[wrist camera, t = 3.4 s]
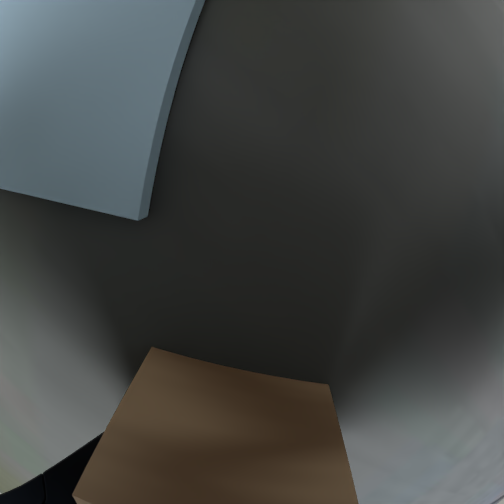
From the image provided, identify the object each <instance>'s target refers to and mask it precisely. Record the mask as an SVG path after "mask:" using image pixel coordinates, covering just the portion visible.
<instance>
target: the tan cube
mask: <svg viewBox="0 0 504 504" xmlns="http://www.w3.org/2000/svg"><path fill="white" fill-rule="evenodd" d="M72 496H73V498H74V499H75V501H76V503H77V504H358V500H357V495H356V491H355V487H354V482H353V478H352V474H351V470H350V466H349V461H348V457H347V453H346V449H345V445H344V441H343V437H342V433H341V429H340V426H339V422H338V418H337V414H336V410H335V406H334V403H333V399H332V395H331V392H330V388H329V384H321V383H314V382H307V381H300V380H294V379H288V378H282V377H276V376H271V375H265V374H260V373H255V372H250V371H245V370H241V369H236V368H231V367H227V366H222V365H218V364H214V363H210V362H206V361H202V360H198V359H194V358H190V357H186V356H182V355H179V354H175V353H171V352H168V351H164V350H161V349H158V348H154V347H151V349H150V351H149V352H148V354H147V356H146V358H145V359H144V361H143V363H142V365H141V366H140V368H139V370H138V372H137V373H136V375H135V377H134V379H133V381H132V382H131V384H130V386H129V388H128V389H127V391H126V393H125V395H124V397H123V398H122V400H121V402H120V404H119V406H118V408H117V409H116V411H115V413H114V415H113V417H112V419H111V420H110V422H109V424H108V426H107V428H106V430H105V432H104V433H103V435H102V437H101V439H100V441H99V443H98V445H97V447H96V449H95V450H94V452H93V454H92V456H91V458H90V460H89V462H88V464H87V466H86V468H85V470H84V472H83V474H82V476H81V478H80V480H79V482H78V484H77V486H76V488H75V490H74V492H73V494H72Z"/></svg>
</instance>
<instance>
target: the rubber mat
mask: <svg viewBox="0 0 504 504" xmlns="http://www.w3.org/2000/svg"><path fill="white" fill-rule="evenodd" d="M204 2H205V0H0V189H4V190H8V191H12V192H17V193H21V194H25V195H30V196H34V197H38V198H43V199H47V200H51V201H56V202H60V203H64V204H69V205H73V206H77V207H81V208H86V209H90V210H94V211H99V212H103V213H107V214H111V215H116V216H120V217H124V218H128V219H133V220H137V221H138V220H141V219H143V218H145V217H147V216H148V212H149V206H150V200H151V194H152V189H153V183H154V178H155V173H156V168H157V163H158V159H159V154H160V149H161V145H162V140H163V136H164V132H165V128H166V124H167V120H168V116H169V112H170V108H171V104H172V100H173V97H174V93H175V89H176V86H177V82H178V79H179V75H180V72H181V69H182V66H183V62H184V59H185V56H186V53H187V50H188V47H189V44H190V41H191V38H192V35H193V32H194V29H195V26H196V23H197V21H198V18H199V15H200V12H201V10H202V7H203V5H204Z"/></svg>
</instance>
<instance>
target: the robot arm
mask: <svg viewBox="0 0 504 504" xmlns="http://www.w3.org/2000/svg"><path fill="white" fill-rule="evenodd" d="M104 432H105V431H104ZM104 432H103V433H104ZM103 433H101V434H100V435H99V436H97V437H96V438H94V439H93V440H91V441H90V442H88V443H87V444H86V445H84V446H83V447H81V448H80V449H78V450H77V451H75V452H74V453H72V454H71V455H69V456H68V457H66V458H65V459H63V460H62V461H60V462H59V463H57V464H56V465H54V466H52V467H51V468H49V469H48V470H46V471H45V472H43V474H40V475H38V476H37V477H35V478H33V479H32V480H30V481H28V482H26V483H25V484H23V485H21V486H19V487H17V488H15V489H12V490H10V491H8V492H5V493H3V494H0V504H77V503H76V501H75V499H74V498H73V496H72V494H73V492H74V490H75V488H76V486H77V484H78V482H79V480H80V478H81V476H82V474H83V472H84V470H85V468H86V466H87V464H88V462H89V460H90V458H91V456H92V454H93V452H94V450H95V449H96V447H97V445H98V443H99V441H100V439H101V437H102V435H103Z"/></svg>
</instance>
